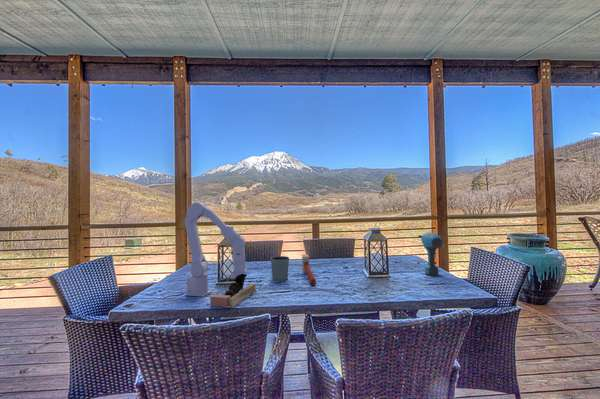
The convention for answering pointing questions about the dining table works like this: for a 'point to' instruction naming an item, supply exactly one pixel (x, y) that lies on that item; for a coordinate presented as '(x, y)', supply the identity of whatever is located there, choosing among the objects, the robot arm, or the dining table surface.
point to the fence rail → (241, 295)
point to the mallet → (307, 269)
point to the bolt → (233, 289)
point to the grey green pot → (280, 268)
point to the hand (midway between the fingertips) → (240, 289)
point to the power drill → (431, 251)
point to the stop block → (220, 300)
